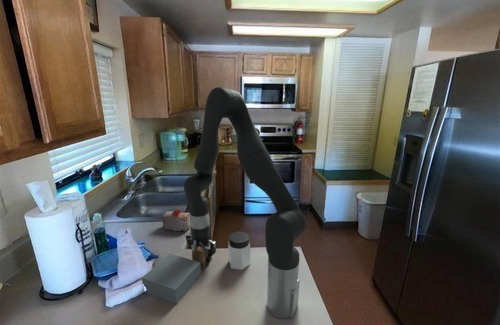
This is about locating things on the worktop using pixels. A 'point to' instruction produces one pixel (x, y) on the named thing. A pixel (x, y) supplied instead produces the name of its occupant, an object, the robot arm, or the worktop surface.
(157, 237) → the worktop surface
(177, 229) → the food item
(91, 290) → the worktop surface
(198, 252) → the walnut cube
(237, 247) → the jar
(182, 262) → the slate block
